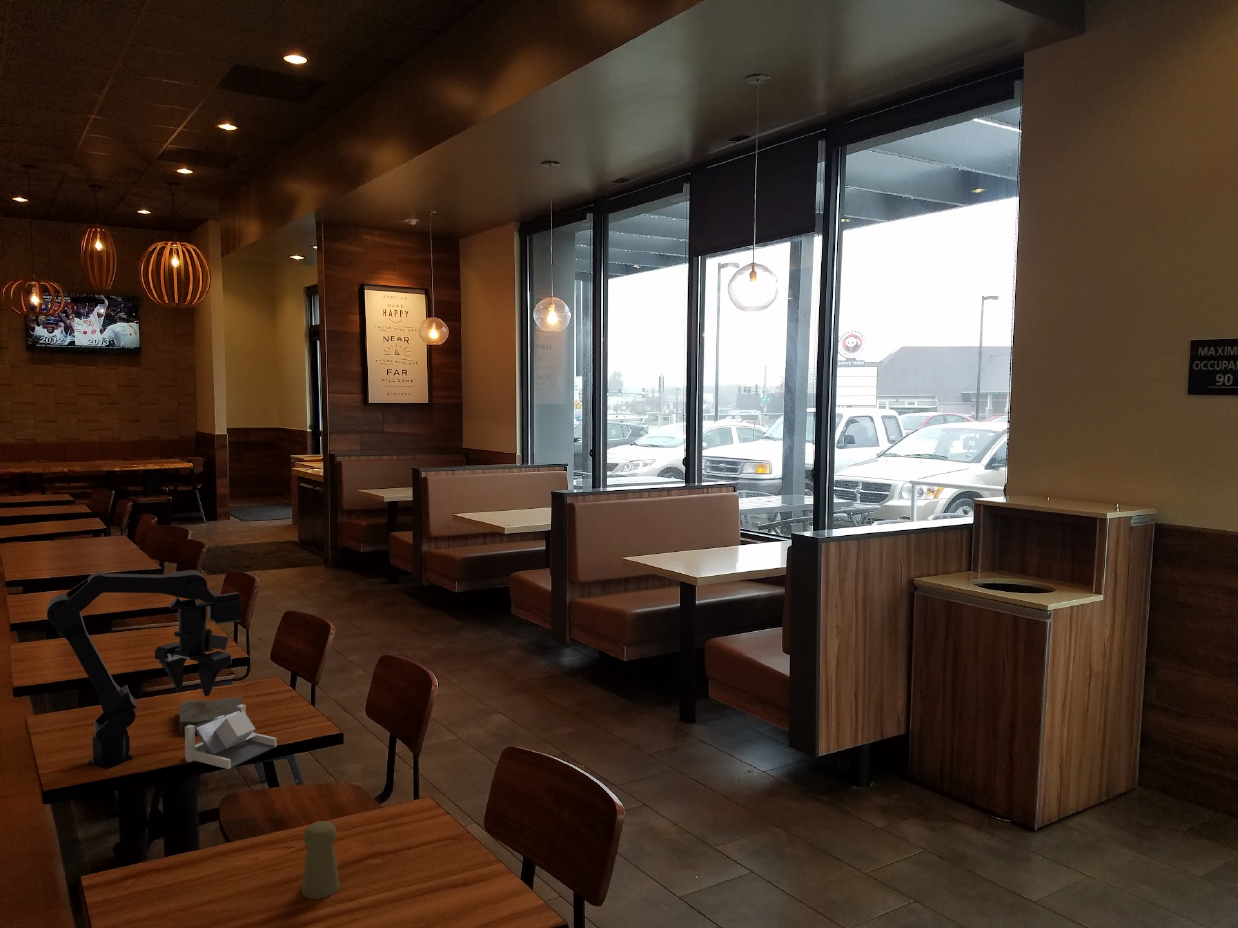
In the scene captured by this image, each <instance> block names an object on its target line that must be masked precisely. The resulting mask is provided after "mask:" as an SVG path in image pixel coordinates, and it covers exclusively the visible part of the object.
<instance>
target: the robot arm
mask: <svg viewBox="0 0 1238 928" xmlns="http://www.w3.org/2000/svg"><path fill="white" fill-rule="evenodd" d="M103 593H104V594H105V593H108V594H110V593H113V594H114V593H115V594H117V593H118V594H119V593H120V594H121V593H122V594H129V593H130V594H162V595H167V596H172V597H175V598H174V599H173V601H171V602H170V603H169V604H168V607H169V609H170V610H171V611H173V610H178V630H175V631H174V637H177V638H178V642H176V641H173V642H170V643H166V644H163V645H159V646H157V647H156V649H155V650H154V660H158V664H161V666H162V668H163V669H164V670H165V672H166V673H167V675H168V677H169V679H170V680H171V681H172V683H173V685H174V687H175V689H176V690H178V691H179V690H182V689H183V684H184V683H183V682H184V666H185V664H186V662H187V661H188V660H190V661H195V662H197V666H198V667H199V669H197V674H198V679H199V681H200V682H199V683H200V685H201V689H202V692H203V695H204V697H208V696H210V695H211V693H212V690H213V687H214V684H215V683H216V682H215V681H216V680H217V679H216V678H217V677H218V675H219V673H220V672H221V671H222V670H224V669H226V668H227V667H228V666H231V665H232V655H231V654H230V653H228V652H226V650H227V646H228V642H229V636H223V635H220V634H219V635H218V634H215V633H214V634H213V630H212V629H211V628H208V627H207V611H208V620H209V621H213V622H214V624H215V625H217V624H218V625H219V624H226V623H234V622H235V623H237V622H241V621H242V620H243V619H242V618H243V607H242V603H241V598H240V597H241V596H240V593H239V591H235V592H230V593H223V594H215V593H214V592H213V591H212V590H211V589H209V587H208V582H207V579H206V578H205V577H204V575H203V574H202V573H201V572H199V571H198V570H194V569H189V570H188V569H187V570H181V571H179V570H178V571H173V572H170V573H164V574H147V573H146V574H140V573H105V572H102V571H101V572H100V571H99V572H94V573H92V574H91V575H89V576H88V578H86V579H85V580H83V581H81V583H79V584H77V585H76V586H74V587H72V588H71V589H70V590H68V591H67V592H66V593H64V594H63V593H60V594H57V595H55V596H54V597H52V598H51V599H50V600H49V601H48V604H47V606H46V618H47V620H48V621H49V623H50V624H51V626H53V627H54V629H55V630H56V631H57V632H58V633H59V634H60V635H61V636H62V637H63V639H66V641H67V642H68V643H69V646H70V647H71V648H72V650H73V652H74V654H75V656H76V658H77V659H78V661H79V663H80V665H81V667H82V669H83V670H84V672H85V674H86V675H87V678H88V679H89V681H90V684H92V686H93V688H94V690H95V691H96V693H97V695H98V699H99V702H100V706H101V710H102V713H100V714H99V716H98V717H97V718H96V719H95V720H94V721H93V722H94V734H95V735H93V736H92V738H91V739H92V743H91V744H92V758H91V759H88V761H87V763H88V764H90V765H94V766H98V767H100V768H101V767H102V768H106V769H108V768H111V767H114V766H116V765H119V764H121V763H124V762H126V761H129V760H131V759H134V755H133V754H130V752H131V743H130V742H131V740H130V739H131V738H130V735H129V730H128V729H127V728H128V727H130V726H131V725H132V724H133V723H134V722H135V720H136V716H137V714H136V710H135V709H138V708H137V707H138V706H137V702H136V697H134V696H133V695H131V692H130V690H129V687H128V685H127V684H125V685H124V686H122V687H120V686H119V685H118V684H117V683H116V682H115V680H114V678H113V676H112V675H111V673H110V671H109V670H108V668H107V666H106V664H105V662H104V661H103V658H102V656H101V655H100V653H99V652H98V649H97V647H96V646H95V644H94V642H93V641H92V638H91V637H90V635H89V633H88V631H87V630H86V626H85V622H84V619H83V615H82V611H83V610H85V609H86V608H87V607H88V606H89V605H90V604H92V602H93V601H94V600H95V599H97V598H98V597H99V596H100V595H101V594H103ZM197 599H198V600H200V601H196V600H197ZM207 607H208V608H207ZM214 649H217V650H215V651H214ZM212 651H213V652H212ZM206 652H209V653H206Z"/></svg>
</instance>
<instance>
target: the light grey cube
mask: <svg viewBox="0 0 1238 928" xmlns="http://www.w3.org/2000/svg"><path fill="white" fill-rule="evenodd" d="M255 730H256V727H255V726H254V724H253V723H252V721H251V719H250V718H249V716H248V715H247V713H246V714H245V712H244V711H243V712H241V713H238V714H236V715H233V716H231V717H228V718H226V719H225V720H224V721H223V722H222V724H221V725H220V726H219V727H218V728H217V729H216V730H215V732H216V733H217V735H218V736H219V738H220V739H221V741H222V743H223V744H224V746H225V747H226V749H227V748H230V747H232V746H234V745H236V744H239V743H241V742H243V741H245V740H246V739H247V737H248V736H249V735H250V734H251V733H252V732H254V731H255Z"/></svg>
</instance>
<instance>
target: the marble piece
mask: <svg viewBox="0 0 1238 928" xmlns="http://www.w3.org/2000/svg"><path fill="white" fill-rule="evenodd" d="M241 704H243V699H242V698H241V696H236V697H233V698H232V697H227V698H226V697H225V698H223V699H214V700H213V699H212V700H211V699H210V700H201V699H186V700H183V701H181V703H180V704H179V707H178V708H179V710H178V715H177V716H178V717H177V718H179V723H178V725H179V731H180V733H181V734H183V733H185V727H186V726H188V725H194V726H196V725H199V724H201V723H203V722H206V721H208V720H211V719H213V718H216V717H218V716H221V715H223V714H226V713H228V712H231V711H233V710H236V709H237V706H238V705H241ZM195 733H196V731H195Z"/></svg>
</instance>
